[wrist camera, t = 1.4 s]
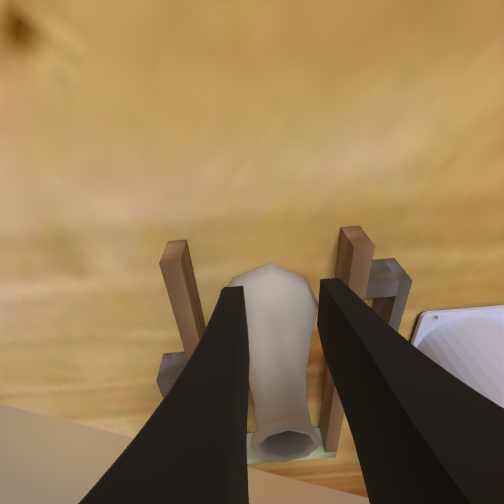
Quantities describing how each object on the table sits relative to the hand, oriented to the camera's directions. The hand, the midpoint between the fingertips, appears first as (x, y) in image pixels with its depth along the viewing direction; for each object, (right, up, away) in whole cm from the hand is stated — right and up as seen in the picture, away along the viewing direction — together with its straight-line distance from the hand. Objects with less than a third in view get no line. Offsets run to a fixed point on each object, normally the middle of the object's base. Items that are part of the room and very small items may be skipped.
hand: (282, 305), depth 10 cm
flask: (0, -2, +13) cm, 13 cm away
